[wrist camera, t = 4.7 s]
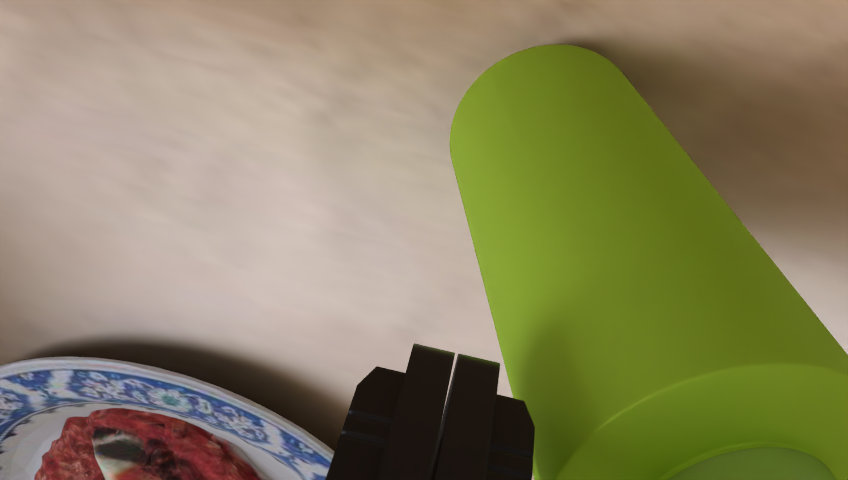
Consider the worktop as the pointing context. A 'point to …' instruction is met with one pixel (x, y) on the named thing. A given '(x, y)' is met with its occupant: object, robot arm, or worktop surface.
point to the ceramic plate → (141, 427)
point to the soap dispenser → (635, 290)
